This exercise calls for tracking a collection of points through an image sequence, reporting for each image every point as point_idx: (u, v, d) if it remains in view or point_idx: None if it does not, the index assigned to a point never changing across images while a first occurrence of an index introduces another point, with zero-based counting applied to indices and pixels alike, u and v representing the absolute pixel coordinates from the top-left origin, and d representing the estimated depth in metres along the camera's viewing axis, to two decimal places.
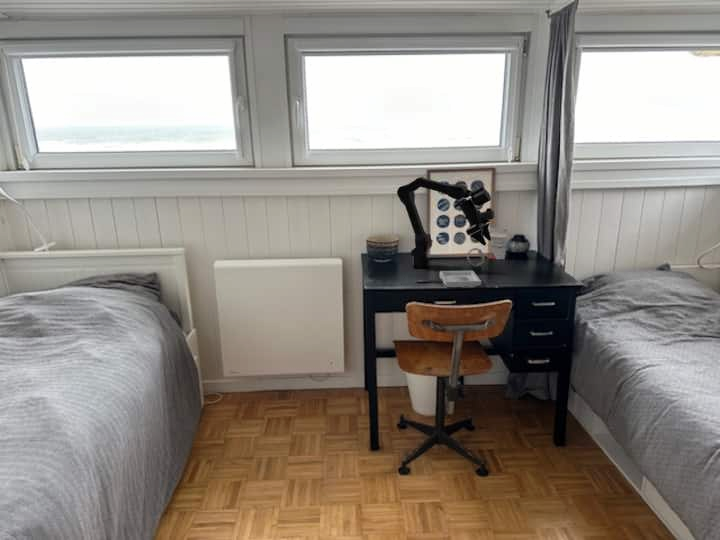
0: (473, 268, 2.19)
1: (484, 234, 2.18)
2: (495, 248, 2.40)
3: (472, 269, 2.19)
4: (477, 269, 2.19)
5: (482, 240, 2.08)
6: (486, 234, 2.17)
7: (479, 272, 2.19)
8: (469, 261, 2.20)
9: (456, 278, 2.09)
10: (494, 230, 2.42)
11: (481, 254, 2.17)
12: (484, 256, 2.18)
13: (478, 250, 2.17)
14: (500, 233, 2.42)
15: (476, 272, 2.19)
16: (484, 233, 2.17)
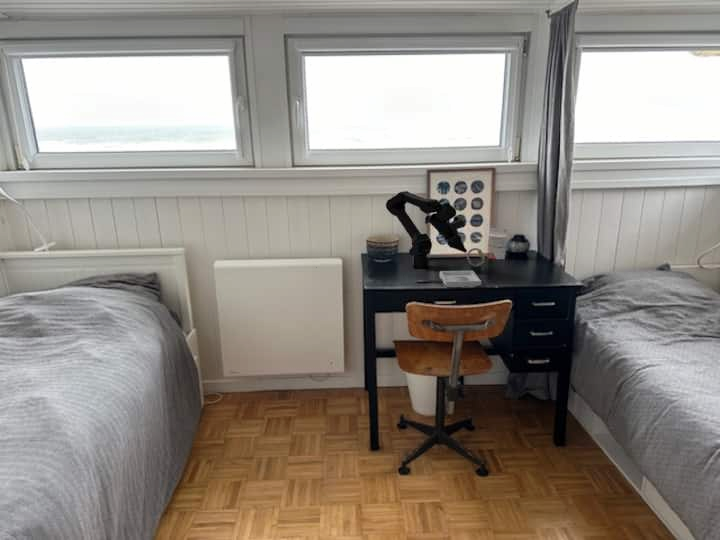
0: (473, 268, 2.19)
1: None
2: (495, 248, 2.40)
3: (472, 269, 2.19)
4: (477, 269, 2.19)
5: (463, 248, 2.13)
6: None
7: (479, 272, 2.19)
8: (469, 261, 2.20)
9: (456, 278, 2.09)
10: (494, 230, 2.42)
11: (481, 254, 2.17)
12: (484, 256, 2.18)
13: (478, 250, 2.17)
14: (500, 233, 2.42)
15: (476, 272, 2.19)
16: None
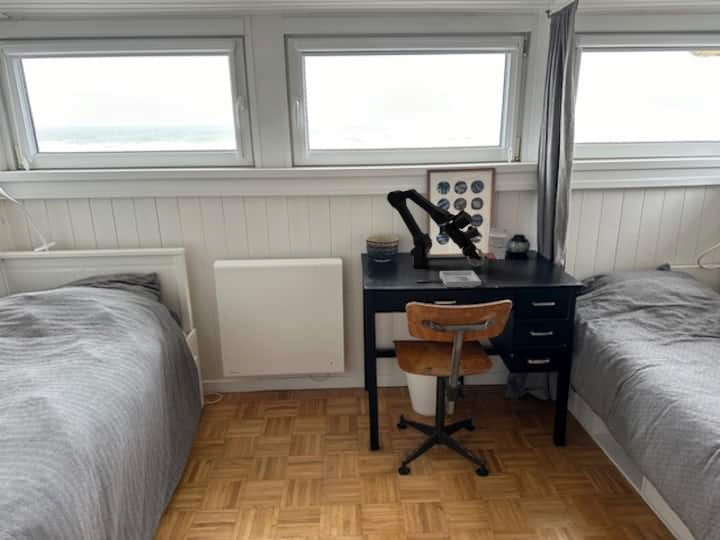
0: (473, 268, 2.19)
1: None
2: (495, 248, 2.40)
3: (472, 269, 2.19)
4: (477, 269, 2.19)
5: (477, 256, 2.17)
6: None
7: (479, 272, 2.19)
8: (469, 261, 2.20)
9: (456, 278, 2.09)
10: (494, 230, 2.42)
11: (481, 254, 2.17)
12: (484, 256, 2.18)
13: (478, 250, 2.17)
14: (500, 233, 2.42)
15: (476, 272, 2.19)
16: None
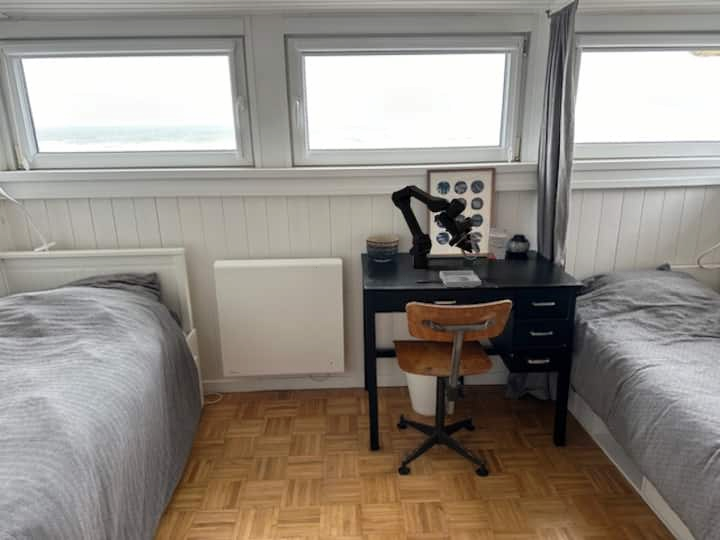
0: (465, 261, 2.10)
1: (468, 244, 2.13)
2: (495, 248, 2.40)
3: (464, 262, 2.10)
4: (469, 262, 2.09)
5: (468, 248, 2.07)
6: (470, 244, 2.13)
7: (471, 266, 2.09)
8: (462, 253, 2.11)
9: (456, 278, 2.09)
10: (494, 230, 2.42)
11: (473, 247, 2.07)
12: (477, 249, 2.07)
13: (471, 242, 2.08)
14: (500, 233, 2.42)
15: (468, 265, 2.10)
16: (467, 243, 2.13)
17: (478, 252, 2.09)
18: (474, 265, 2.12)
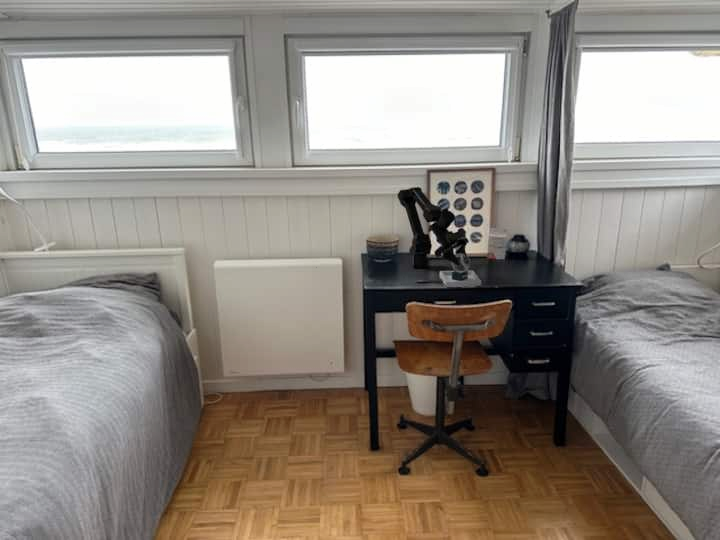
0: (453, 273, 2.08)
1: None
2: (495, 248, 2.40)
3: (452, 274, 2.08)
4: (457, 275, 2.06)
5: (454, 260, 2.04)
6: None
7: (459, 279, 2.06)
8: None
9: None
10: (494, 230, 2.42)
11: (461, 260, 2.04)
12: (464, 263, 2.03)
13: None
14: (500, 233, 2.42)
15: (456, 278, 2.07)
16: None
17: (467, 266, 2.05)
18: (464, 279, 2.08)
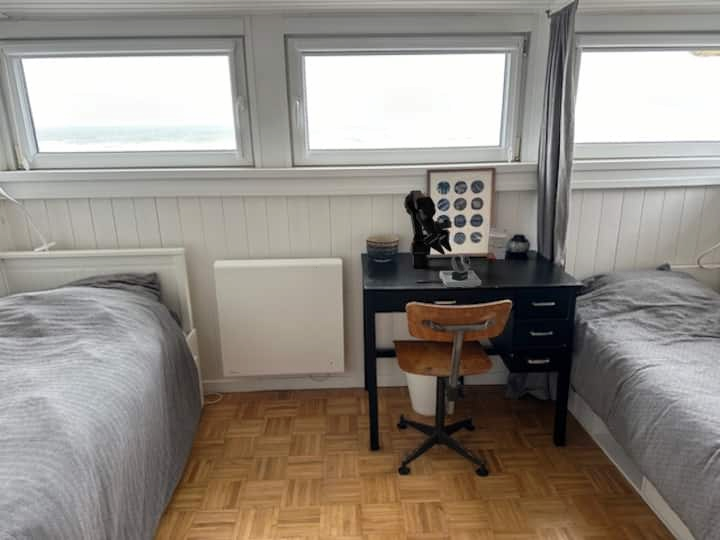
0: (453, 274, 2.07)
1: (445, 246, 2.18)
2: (495, 248, 2.40)
3: (453, 274, 2.08)
4: (457, 275, 2.06)
5: (440, 249, 2.08)
6: (446, 245, 2.17)
7: (459, 279, 2.06)
8: (453, 266, 2.09)
9: None
10: (494, 230, 2.42)
11: (461, 260, 2.04)
12: (465, 263, 2.03)
13: (460, 256, 2.05)
14: (500, 233, 2.42)
15: (456, 278, 2.07)
16: (444, 245, 2.18)
17: (467, 266, 2.05)
18: (464, 279, 2.08)
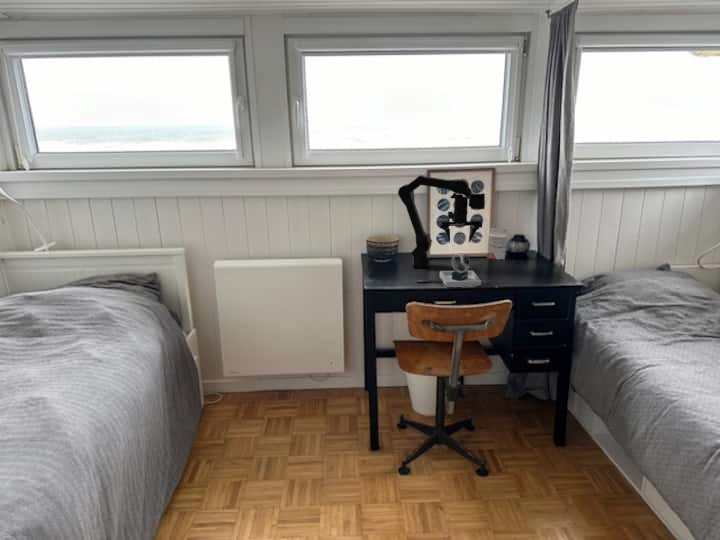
0: (453, 274, 2.07)
1: (449, 235, 2.20)
2: (495, 248, 2.40)
3: (453, 274, 2.08)
4: (457, 275, 2.06)
5: None
6: (449, 236, 2.21)
7: (459, 279, 2.06)
8: (453, 266, 2.09)
9: None
10: (494, 230, 2.42)
11: (461, 260, 2.04)
12: (465, 263, 2.03)
13: (460, 256, 2.05)
14: (500, 233, 2.42)
15: (456, 278, 2.07)
16: (449, 234, 2.20)
17: (467, 266, 2.05)
18: (464, 279, 2.08)
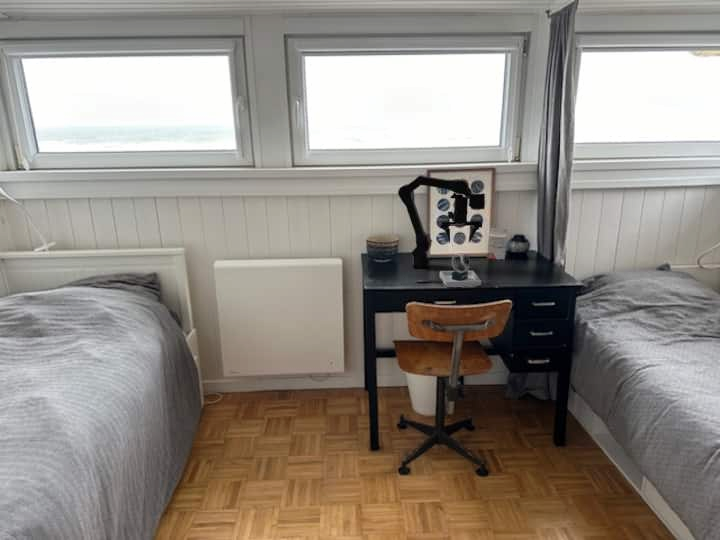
0: (453, 274, 2.07)
1: (449, 235, 2.20)
2: (495, 248, 2.40)
3: (453, 274, 2.08)
4: (457, 275, 2.06)
5: None
6: (449, 236, 2.21)
7: (459, 279, 2.06)
8: (453, 266, 2.09)
9: None
10: (494, 230, 2.42)
11: (461, 260, 2.04)
12: (465, 263, 2.03)
13: (460, 256, 2.05)
14: (500, 233, 2.42)
15: (456, 278, 2.07)
16: (449, 234, 2.20)
17: (467, 266, 2.05)
18: (464, 279, 2.08)
